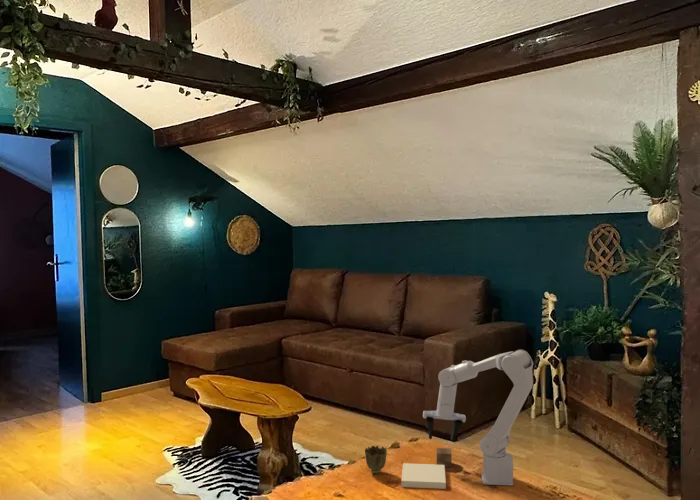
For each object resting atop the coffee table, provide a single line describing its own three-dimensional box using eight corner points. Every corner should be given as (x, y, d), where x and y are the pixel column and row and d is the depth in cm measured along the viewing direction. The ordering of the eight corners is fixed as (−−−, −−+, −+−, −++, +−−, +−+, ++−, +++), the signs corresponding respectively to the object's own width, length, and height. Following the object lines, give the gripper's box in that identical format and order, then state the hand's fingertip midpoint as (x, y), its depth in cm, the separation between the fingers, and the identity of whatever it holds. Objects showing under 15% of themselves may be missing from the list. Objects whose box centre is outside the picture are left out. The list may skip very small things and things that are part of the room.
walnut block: (450, 462, 213) (450, 448, 213) (451, 468, 208) (451, 453, 208) (436, 461, 213) (436, 448, 213) (436, 467, 208) (436, 453, 208)
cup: (361, 474, 203) (360, 451, 203) (370, 466, 210) (370, 444, 209) (381, 479, 200) (381, 455, 199) (390, 470, 206) (390, 447, 206)
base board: (444, 470, 206) (444, 464, 206) (445, 488, 192) (445, 482, 192) (403, 468, 207) (403, 463, 207) (401, 486, 194) (401, 480, 193)
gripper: (464, 399, 212) (459, 435, 214) (423, 395, 211) (418, 431, 213) (468, 407, 205) (463, 445, 207) (426, 403, 204) (421, 440, 206)
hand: (441, 438), depth 210 cm, fingers open, 7 cm apart
